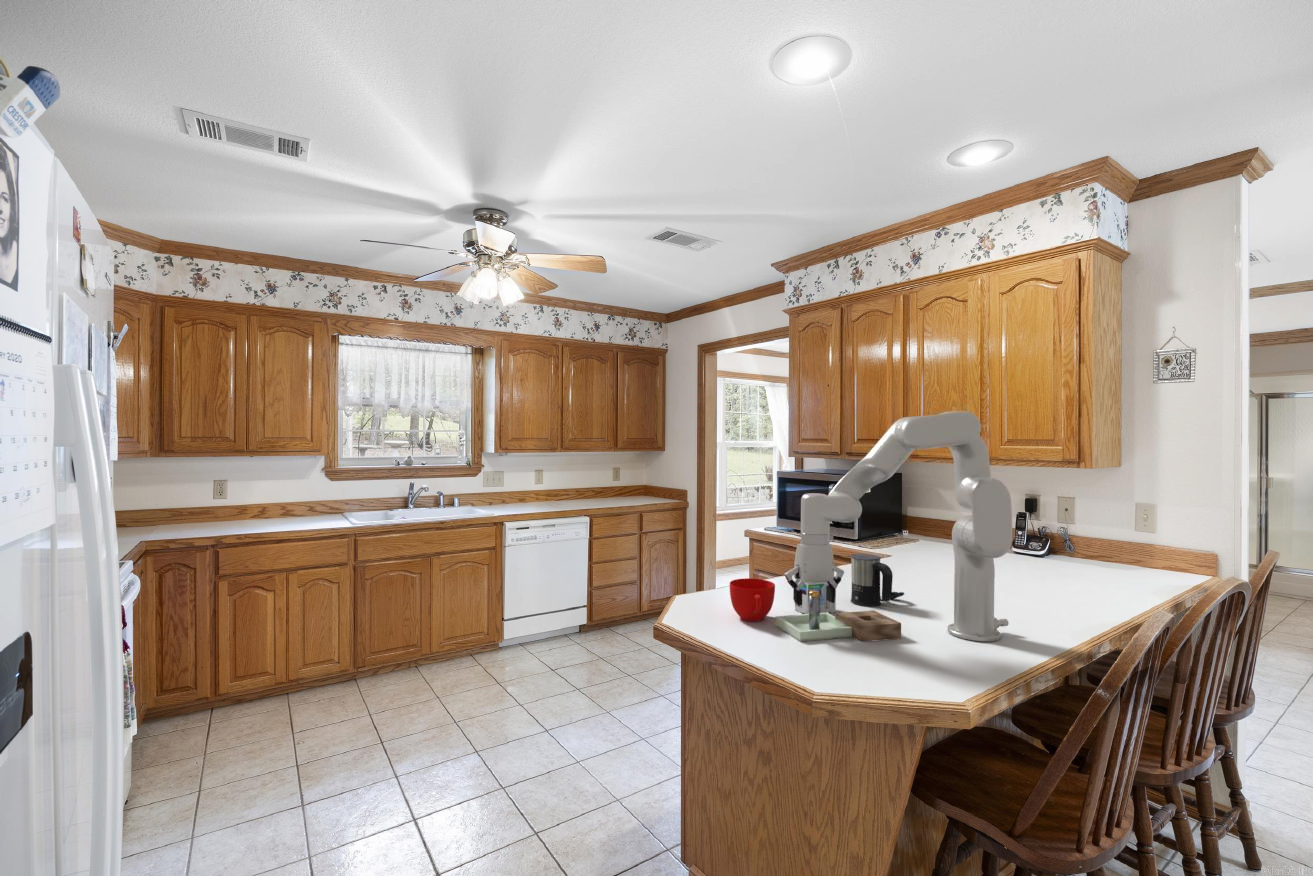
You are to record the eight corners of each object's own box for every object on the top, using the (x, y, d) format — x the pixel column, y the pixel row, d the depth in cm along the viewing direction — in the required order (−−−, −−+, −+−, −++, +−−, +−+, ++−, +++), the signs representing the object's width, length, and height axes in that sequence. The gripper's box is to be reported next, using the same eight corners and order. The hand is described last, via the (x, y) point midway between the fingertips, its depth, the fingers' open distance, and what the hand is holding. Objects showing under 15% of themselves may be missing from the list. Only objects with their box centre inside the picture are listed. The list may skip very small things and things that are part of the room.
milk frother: (845, 603, 195) (845, 556, 195) (864, 593, 207) (865, 549, 207) (890, 611, 186) (891, 562, 186) (908, 601, 198) (909, 555, 197)
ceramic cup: (735, 629, 168) (735, 593, 167) (726, 611, 184) (726, 578, 184) (782, 629, 168) (782, 593, 168) (769, 611, 185) (769, 578, 185)
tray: (826, 621, 176) (826, 612, 176) (855, 636, 162) (855, 627, 162) (775, 625, 171) (775, 616, 171) (800, 642, 158) (800, 632, 158)
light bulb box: (807, 616, 181) (808, 579, 181) (793, 610, 187) (794, 574, 187) (836, 612, 185) (837, 576, 185) (822, 606, 191) (822, 571, 191)
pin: (816, 626, 169) (816, 590, 168) (821, 630, 166) (821, 592, 166) (807, 627, 168) (807, 590, 168) (812, 630, 165) (812, 593, 165)
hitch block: (873, 624, 173) (873, 610, 173) (901, 638, 161) (901, 623, 161) (835, 627, 170) (835, 613, 170) (860, 642, 158) (860, 626, 158)
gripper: (835, 536, 173) (835, 597, 173) (779, 538, 168) (778, 601, 168) (851, 540, 165) (850, 604, 165) (792, 543, 161) (791, 609, 161)
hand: (814, 602), depth 167 cm, fingers open, 9 cm apart
